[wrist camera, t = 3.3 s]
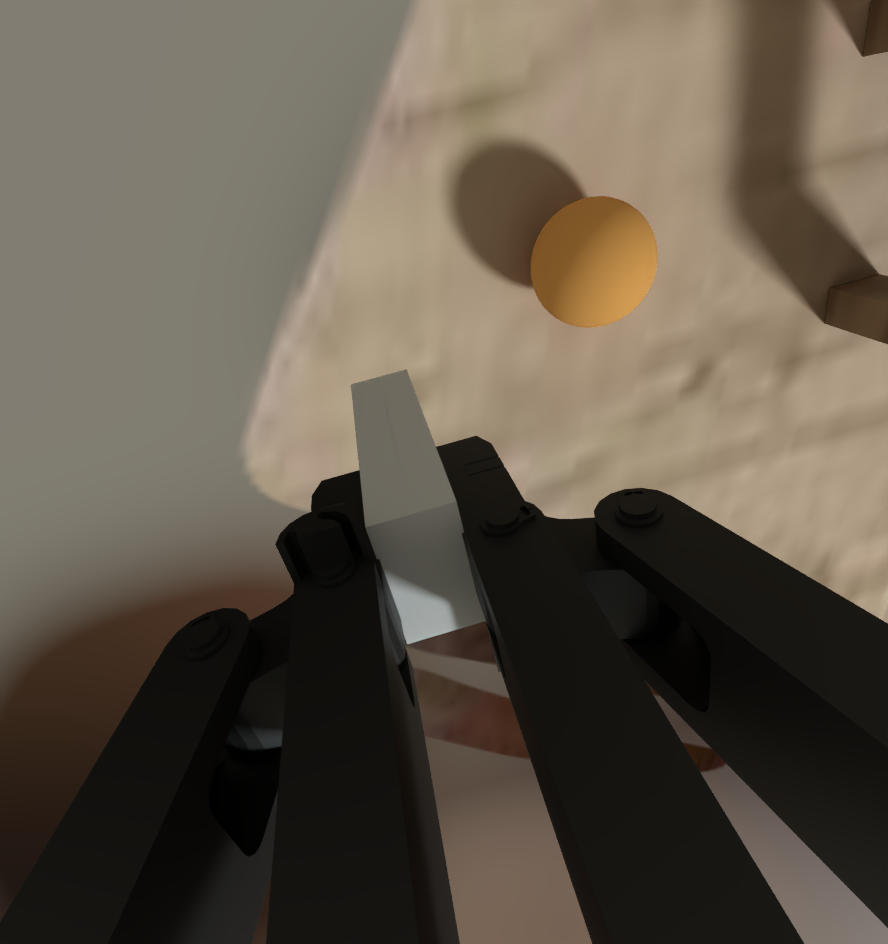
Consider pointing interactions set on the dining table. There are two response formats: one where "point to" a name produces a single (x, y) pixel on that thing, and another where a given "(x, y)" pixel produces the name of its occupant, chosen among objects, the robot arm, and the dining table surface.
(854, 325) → the bridge
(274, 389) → the dining table surface
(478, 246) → the dining table surface
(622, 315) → the ball
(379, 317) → the dining table surface
